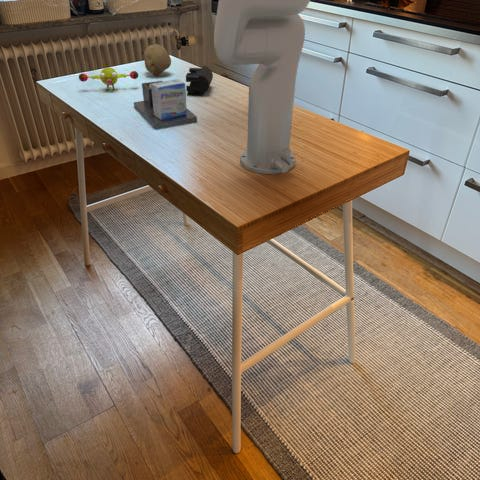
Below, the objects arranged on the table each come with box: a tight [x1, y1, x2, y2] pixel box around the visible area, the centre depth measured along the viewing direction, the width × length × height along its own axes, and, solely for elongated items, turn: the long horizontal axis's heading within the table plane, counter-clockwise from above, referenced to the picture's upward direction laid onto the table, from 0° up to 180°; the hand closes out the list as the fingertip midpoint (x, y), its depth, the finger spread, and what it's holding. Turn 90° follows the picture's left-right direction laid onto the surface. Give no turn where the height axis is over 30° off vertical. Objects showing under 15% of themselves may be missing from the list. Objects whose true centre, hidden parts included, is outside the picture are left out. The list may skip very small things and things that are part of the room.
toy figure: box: [78, 67, 139, 91], centre depth 140 cm, size 18×6×7 cm, turn 103°
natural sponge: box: [143, 43, 172, 76], centre depth 153 cm, size 9×9×10 cm
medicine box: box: [151, 79, 188, 120], centre depth 119 cm, size 8×4×9 cm, turn 124°
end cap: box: [185, 65, 214, 97], centre depth 140 cm, size 10×7×7 cm
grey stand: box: [133, 80, 198, 130], centre depth 124 cm, size 18×12×6 cm, turn 28°
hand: (227, 7), depth 112 cm, fingers closed
